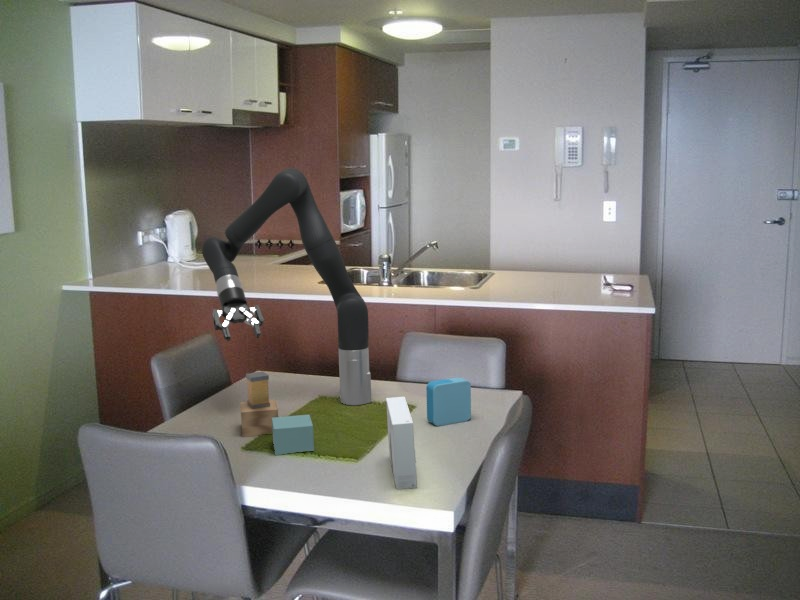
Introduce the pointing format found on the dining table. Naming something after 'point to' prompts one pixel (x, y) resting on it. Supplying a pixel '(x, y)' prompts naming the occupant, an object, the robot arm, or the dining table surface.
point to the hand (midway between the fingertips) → (243, 338)
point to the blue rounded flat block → (448, 401)
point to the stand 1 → (257, 419)
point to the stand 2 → (292, 434)
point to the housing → (258, 390)
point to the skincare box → (401, 443)
